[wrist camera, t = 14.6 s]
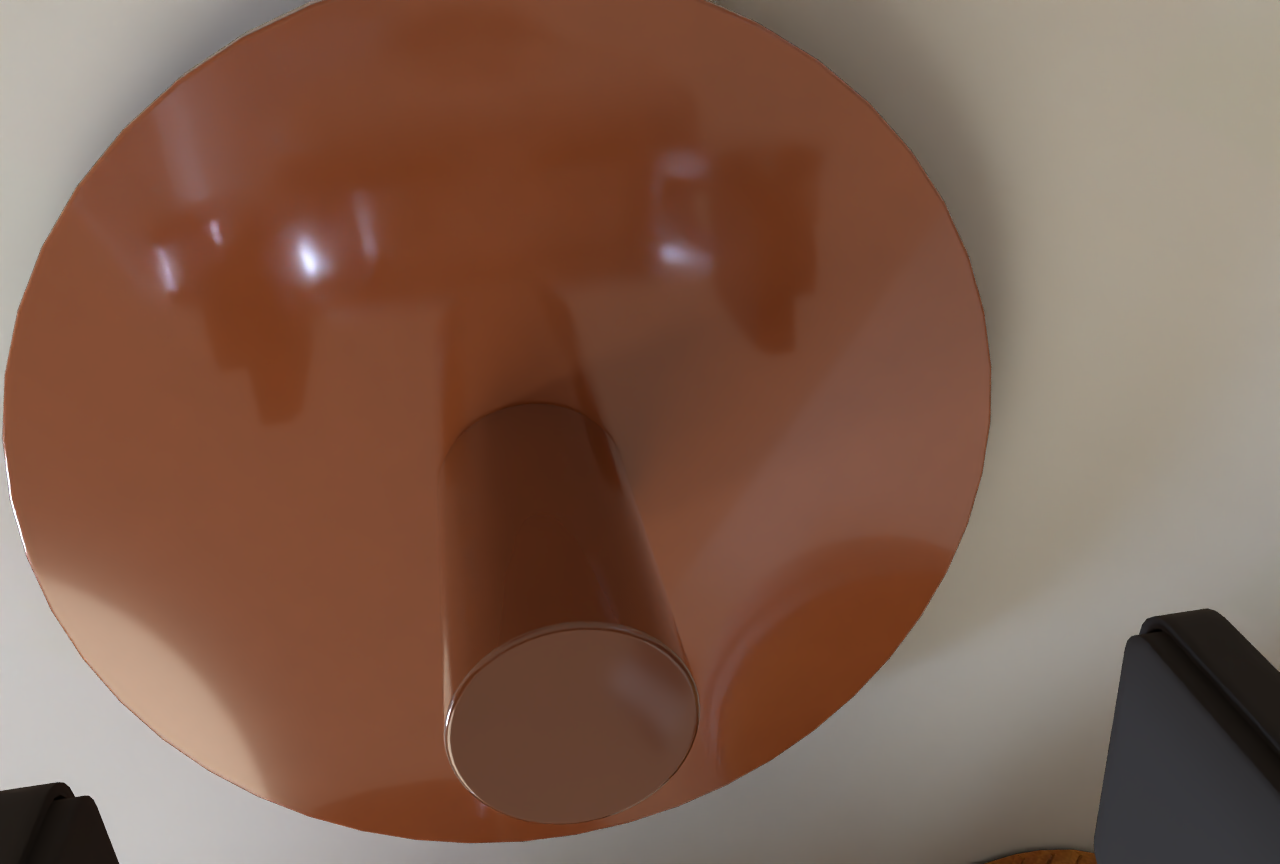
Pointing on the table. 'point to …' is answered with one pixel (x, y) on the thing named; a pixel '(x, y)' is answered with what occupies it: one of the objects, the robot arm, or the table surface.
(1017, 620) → the table surface
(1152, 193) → the table surface
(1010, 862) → the disposable coffee cup
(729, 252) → the lid
